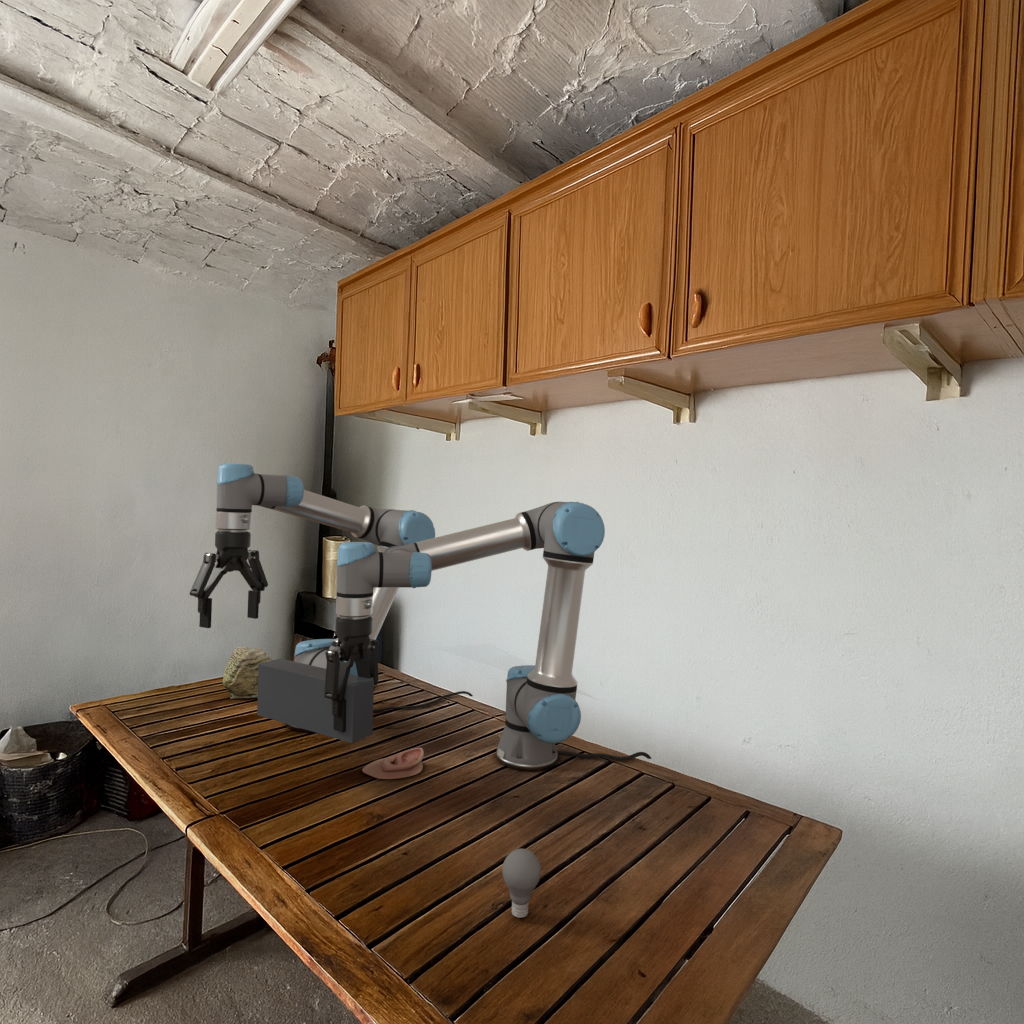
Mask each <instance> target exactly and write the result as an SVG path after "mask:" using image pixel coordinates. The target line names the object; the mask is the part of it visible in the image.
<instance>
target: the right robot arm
mask: <svg viewBox="0 0 1024 1024" xmlns="http://www.w3.org/2000/svg"><path fill="white" fill-rule="evenodd" d="M605 534H606V528H605V523H604V520H603V518H602V516H601V514H600V513H599V512H598V511H597V510H596V509H595V508H594V507H592V506H591V505H589V504H587V503H584V502H579V501H553V502H549V503H546V504H544V505H540V506H538V507H535V508H532V509H530V510H529V509H528V510H525V511H522V512H518V513H516V515H515V517H514V518H509V519H506V520H501V521H498V522H493V523H490V524H487V525H482V526H478V527H477V526H476V527H474V528H469V529H464V530H461V531H456V532H453V533H449V534H444V535H441V536H435V538H432V539H428V540H423V541H419V542H416V543H412V544H407V545H403V546H392V547H390V548H388V549H386V550H385V551H384V552H379V551H376V547H375V546H376V545H375V544H373V543H371V542H368V541H346V542H341V543H340V544H339V546H338V548H337V559H336V560H337V561H336V595H335V615H336V618H335V628H334V629H335V630H334V631H335V632H334V633H335V635H336V637H337V638H338V642H337V644H336V647H335V648H334V649H332V650H329V649H327V650H326V652H325V654H326V659H327V666H326V679H325V692H324V697H325V698H328V699H332V714H333V715H334V725H333V730H337V731H340V732H345V731H346V699H343V698H344V694H345V690H346V685H347V681H348V677H349V673H350V669H351V667H353V664H354V661H355V664H356V669H357V673H358V676H360V677H364V678H369V679H372V677H373V679H374V691H375V690H376V686H377V685H378V684H379V646H380V640H379V639H376V640H374V639H370V637H369V635H370V634H371V633H372V622H373V618H372V617H371V616H369V615H371V614H372V611H373V589H374V587H378V588H381V587H399V588H409V589H411V588H412V589H416V588H426V587H428V586H429V585H430V583H431V580H432V572H434V571H436V570H441V569H445V568H449V567H452V566H457V565H462V564H465V563H468V562H473V561H478V560H481V559H484V558H488V557H492V556H493V557H494V556H497V555H500V554H504V553H508V552H509V553H510V552H513V551H517V550H520V549H522V550H524V551H526V552H529V551H533V550H538V549H543V551H542V559H543V560H544V562H545V563H546V564H547V570H546V571H547V573H546V580H545V588H544V595H543V602H542V603H543V604H542V610H541V617H540V618H541V619H540V626H539V634H538V641H537V649H536V657H535V663H534V665H533V664H526V665H525V664H524V665H523V664H522V665H515V666H511V667H510V668H509V669H508V670H507V675H506V676H507V677H506V680H505V682H506V690H505V691H506V692H505V693H506V695H505V716H504V717H505V721H504V728H503V730H502V733H501V736H500V739H499V742H498V743H497V747H496V754H495V755H496V760H497V762H499V763H500V764H502V765H503V766H505V767H507V768H510V769H513V770H518V771H529V772H531V771H533V772H535V771H542V770H547V769H550V768H552V767H553V766H555V765H556V764H557V762H558V756H565V757H574V758H582V759H587V758H589V759H590V758H603V759H610V760H614V761H620V762H621V761H622V762H623V761H624V762H625V761H630V760H633V759H635V758H638V757H645V758H646V759H648V760H651V759H653V758H652V757H651V755H650V754H649V753H647V752H645V751H638V752H635V753H632V754H629V755H626V756H619V755H612V754H607V753H599V752H597V753H594V752H593V753H578V752H570V751H564V750H563V751H562V750H558V749H557V745H556V744H561V743H563V742H565V741H567V740H568V739H569V738H571V737H572V736H574V734H575V733H576V732H577V730H578V729H579V727H580V724H581V720H582V712H581V708H580V705H579V703H578V702H577V701H576V698H577V690H578V680H577V679H576V678H575V677H574V674H573V668H574V659H575V654H576V645H577V637H578V629H579V622H580V615H581V606H582V599H583V591H584V583H585V575H586V571H587V570H588V569H589V568H590V567H591V566H593V564H594V559H595V552H596V551H597V550H598V549H599V548H600V547H601V546H602V544H603V542H604V539H605ZM344 661H348V662H344ZM338 693H339V694H338Z"/></svg>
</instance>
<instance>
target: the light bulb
mask: <svg viewBox="0 0 1024 1024" xmlns="http://www.w3.org/2000/svg"><path fill="white" fill-rule="evenodd" d="M541 875H542V866H541V863H540V861H539V859H538V857H537V856H536V855H535V853H534V852H533V851H531V850H530V849H528V848H517V849H514V850H512V851H511V852H509V854H507V856H506V857H505V859H504V860H503V863H502V878H503V880H504V883H505V885H506V886H507V889H508V890H509V897H510V900H511V914H512V915H513V917H516V918H519V919H521V918H525V917H527V916H528V914H529V902H530V900H531V898H532V894H533V891H534V890H535V889H536V887H537V886H538V884H539V882H540V879H541Z"/></svg>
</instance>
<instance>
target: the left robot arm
mask: <svg viewBox="0 0 1024 1024" xmlns="http://www.w3.org/2000/svg"><path fill="white" fill-rule="evenodd" d="M253 506H257V507H258V506H259V507H261V508H266V509H269V510H272V511H277V512H279V513H283V514H286V515H290V516H294V517H297V518H301V519H303V520H307V521H311V522H314V523H318V524H321V525H325V526H328V527H332V528H335V529H338V530H342V531H345V532H348V533H350V534H351V535H352V536H353V538H357V539H360V540H362V541H365V542H369V543H373V544H374V546H377V552H384V551H385V550H386V549H388V548H390V547H392V546H403V545H407V544H412V543H416V542H419V541H423V540H428V539H432V538H436V528H435V525H434V522H433V521H432V519H431V517H430V516H428V515H427V514H425V513H424V512H421V511H416V510H413V509H412V510H411V509H409V510H406V509H405V510H403V509H391V508H389V509H387V508H376V507H372V506H368V505H364V504H363V505H361V506H356V505H353V504H350V503H347V502H344V501H341V500H338V499H335V498H332V497H328V496H325V495H323V494H319V493H316V492H312V491H310V490H306V489H305V486H304V483H303V480H302V479H301V478H300V476H294V475H289V474H287V475H286V474H285V475H284V474H282V475H281V474H263V473H261V474H260V473H257V472H256V473H255V471H254V467H253V466H252V465H251V464H244V463H232V462H231V463H226V462H225V463H221V464H220V465H219V466H218V469H217V478H216V508H215V527H214V528H215V529H216V530H217V531H216V532H215V533H214V547H215V548H216V552H215V553H212V552H205V553H204V554H203V558H202V564H201V566H200V569H199V570H198V572H197V575H196V577H195V580H194V582H193V584H192V586H191V589H190V591H189V596H190V597H191V596H192V597H194V598H197V613H199V625H198V627H199V628H203V629H211V628H212V612H213V611H212V610H213V598H212V597H211V595H212V593H213V592H214V590H215V589H216V588H217V586H218V585H219V583H220V581H221V580H222V579H223V577H224V576H225V575H227V573H230V572H239V573H240V574H241V576H242V578H243V579H244V580H245V582H246V583H247V585H248V586H249V588H250V589H251V590H247V618H249V619H255V620H256V619H259V608H260V607H259V606H260V605H259V604H260V603H261V594H262V592H264V591H265V589H266V588H267V587H269V583H268V580H267V577H266V574H265V571H264V569H263V565H262V563H261V560H260V551H259V550H257V549H249V548H250V547H251V542H252V541H251V538H252V537H251V536H252V533H251V532H250V531H249V530H251V529H252V513H253V511H252V510H253ZM399 589H400V587H381V588H378V587H374V589H373V611H372V614H371V615H369V616H371V617H372V618H373V622H372V633H371V634H370V635H369V637H370V639H374V640H377V638H378V635H379V633H380V631H381V629H382V627H383V624H384V622H385V620H386V618H387V615H388V613H389V611H390V609H391V606H392V604H393V602H394V599H395V598H396V595H397V593H398V591H399ZM337 642H338V637H337V638H319V639H308V640H303V641H300V642H297V644H296V645H295V650H294V655H293V657H294V662H298V663H303V664H307V665H312V666H316V667H320V668H325V669H326V666H327V659H326V654H325V652H326V650H327V649H329V650H332V649H334V648H335V647H336V644H337ZM344 662H348V661H344ZM349 674H351V675H356V676H358V673H357V669H356V664H355V661H354V664H353V667H351V669H350V673H349ZM372 679H373V677H372ZM463 694H464V695H467V696H469V697H473V696H474V695H473V694H472V693H471V692H469V691H465V690H460V691H456V692H452V693H448V694H444V695H441V696H439V697H438V698H437V699H434V700H432V701H429V702H425V703H422V704H417V705H400V706H399V705H397V706H388V707H381V708H375V709H373V713H379V712H383V711H391V710H409V709H412V710H413V709H419V708H425V707H428V706H430V705H433V704H436V703H438V702H440V701H441V700H443V699H445V698H449V697H453V696H457V695H463ZM285 726H286V728H287V729H289V730H291V731H294V732H295V731H296V732H301V733H314V732H313V731H309V730H306V729H302V728H299V727H296V726H292V725H289V724H286V723H285Z"/></svg>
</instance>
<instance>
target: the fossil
mask: <svg viewBox="0 0 1024 1024" xmlns="http://www.w3.org/2000/svg"><path fill="white" fill-rule="evenodd" d="M272 660H273V659H272V658H271V657H270V656H269V655H268V654H267V653H266V652H265V650H264V649H263V648H260V647H258V648H251V647H247V646H246V647H245V646H238V647H237V648H236V649H235V650H233V651H232V653H231V656H230V657H229V659H228V660H227V663H226V666H225V668H224V671H223V675H222V676H223V677H222V685H223V687H224V688H225V690H226V691H228V693H229V698H230V699H250V698H258V664H260V663H264V662H268V661H272Z"/></svg>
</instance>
